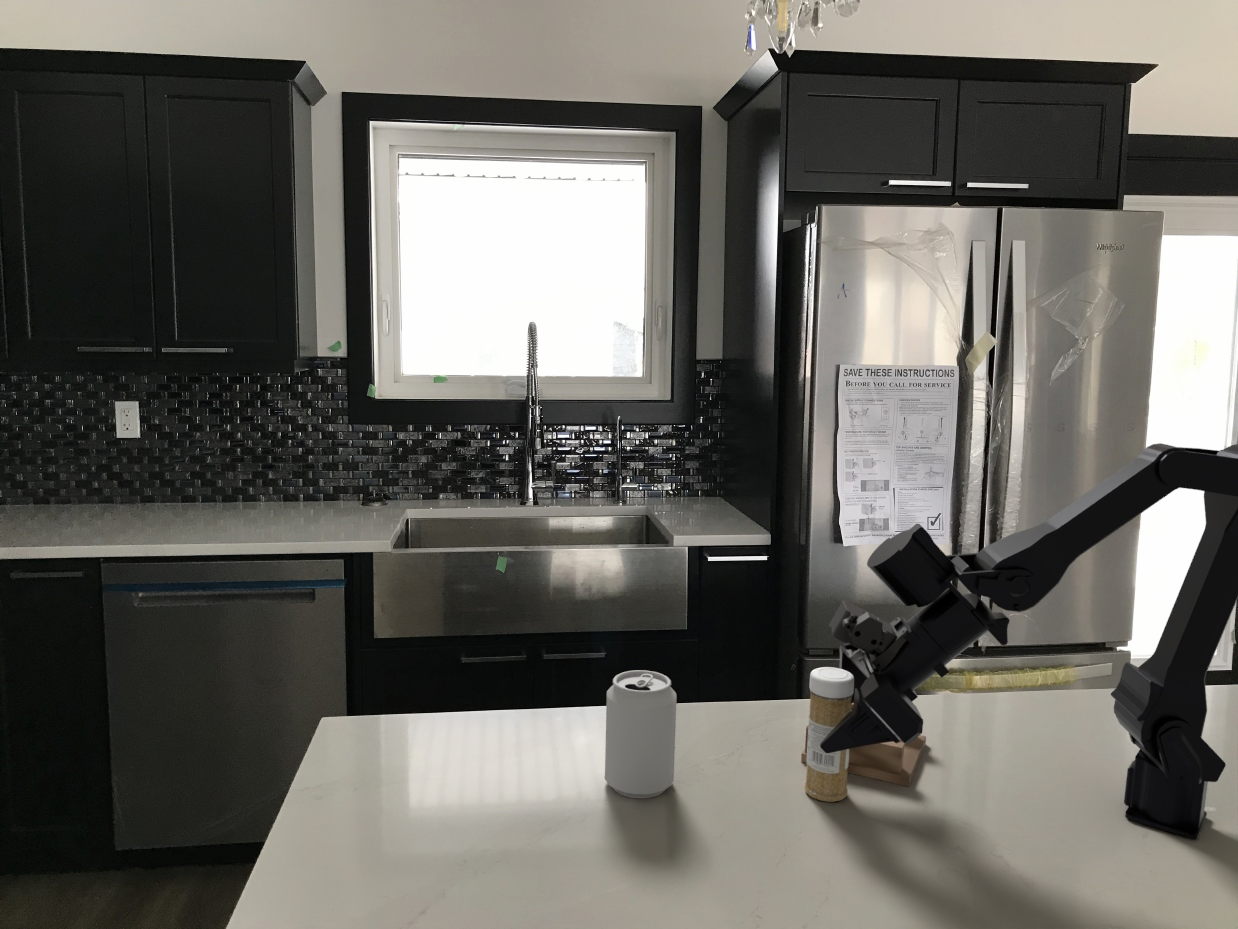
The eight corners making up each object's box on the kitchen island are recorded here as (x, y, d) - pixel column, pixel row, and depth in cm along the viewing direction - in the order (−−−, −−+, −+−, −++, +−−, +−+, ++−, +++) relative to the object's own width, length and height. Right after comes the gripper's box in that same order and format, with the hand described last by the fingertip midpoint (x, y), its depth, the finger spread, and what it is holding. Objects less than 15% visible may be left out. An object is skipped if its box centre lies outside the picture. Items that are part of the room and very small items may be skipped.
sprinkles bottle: (855, 794, 100) (863, 674, 99) (831, 808, 97) (838, 684, 95) (819, 778, 104) (826, 662, 102) (794, 792, 101) (801, 672, 99)
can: (591, 791, 100) (594, 683, 98) (624, 763, 106) (626, 661, 105) (655, 809, 96) (658, 697, 95) (684, 779, 103) (688, 674, 101)
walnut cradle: (925, 744, 113) (928, 712, 112) (908, 786, 102) (911, 752, 102) (826, 723, 118) (828, 693, 118) (801, 761, 108) (802, 728, 107)
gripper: (867, 558, 106) (763, 646, 109) (897, 606, 87) (771, 710, 90) (933, 630, 106) (828, 715, 109) (977, 693, 88) (849, 794, 91)
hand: (818, 730), depth 100 cm, fingers open, 9 cm apart
